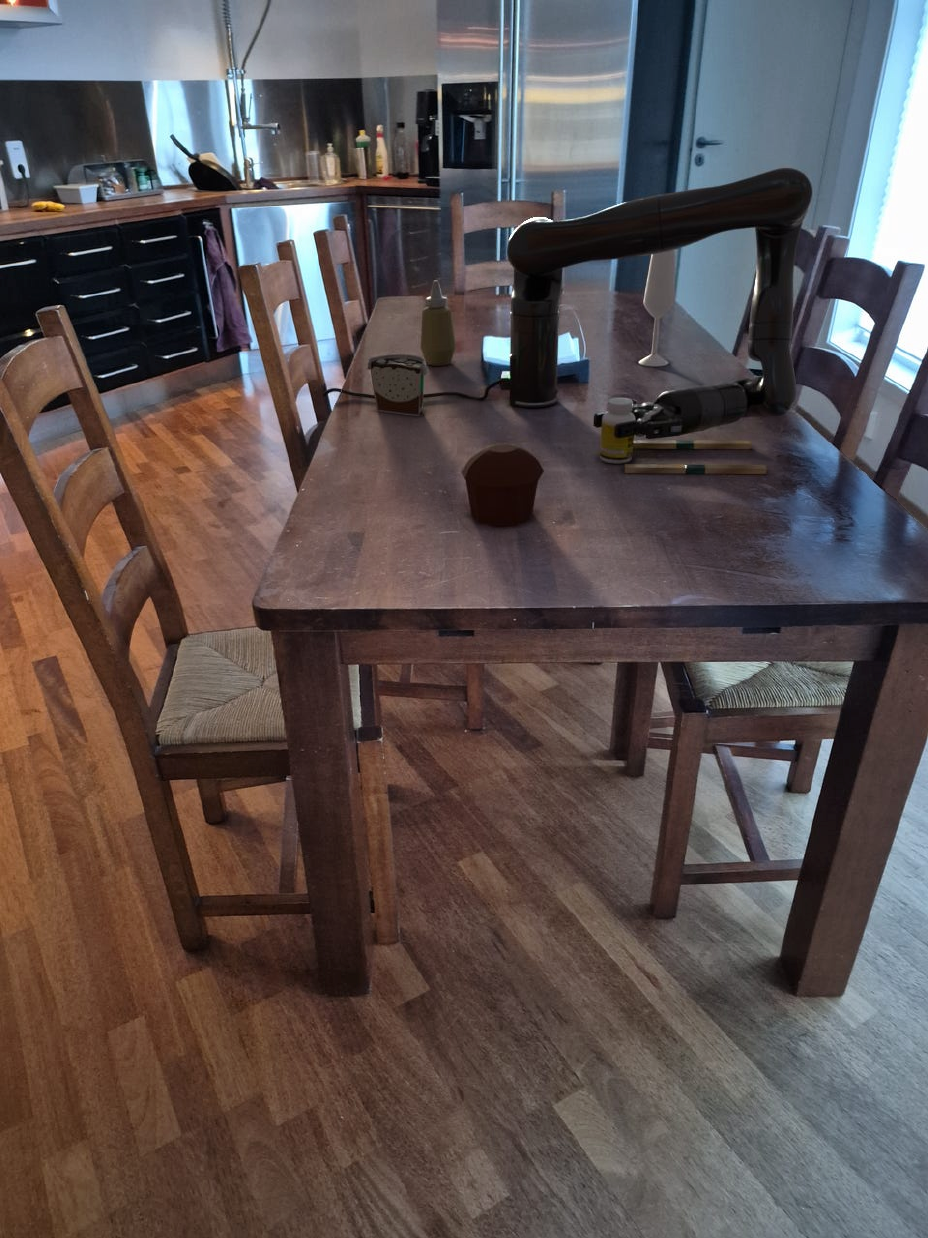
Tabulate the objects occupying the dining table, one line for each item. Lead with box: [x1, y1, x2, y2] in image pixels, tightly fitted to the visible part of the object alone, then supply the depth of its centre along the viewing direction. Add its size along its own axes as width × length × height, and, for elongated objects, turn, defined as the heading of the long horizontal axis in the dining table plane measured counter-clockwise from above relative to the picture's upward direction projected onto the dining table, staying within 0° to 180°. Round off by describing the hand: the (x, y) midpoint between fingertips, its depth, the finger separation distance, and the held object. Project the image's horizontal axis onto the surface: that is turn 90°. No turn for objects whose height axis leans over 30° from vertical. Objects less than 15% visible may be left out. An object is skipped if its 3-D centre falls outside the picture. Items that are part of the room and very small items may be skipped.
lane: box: [624, 439, 768, 475], centre depth 143 cm, size 22×13×1 cm, turn 86°
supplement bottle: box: [599, 397, 635, 465], centre depth 141 cm, size 5×5×10 cm
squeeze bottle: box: [420, 279, 457, 367], centre depth 195 cm, size 8×8×18 cm
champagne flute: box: [638, 250, 676, 367], centre depth 190 cm, size 7×7×24 cm
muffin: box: [460, 443, 545, 528], centre depth 123 cm, size 12×11×10 cm
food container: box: [366, 353, 429, 417], centre depth 167 cm, size 12×6×10 cm, turn 65°
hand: (605, 426), depth 140 cm, fingers closed on supplement bottle, 5 cm apart
